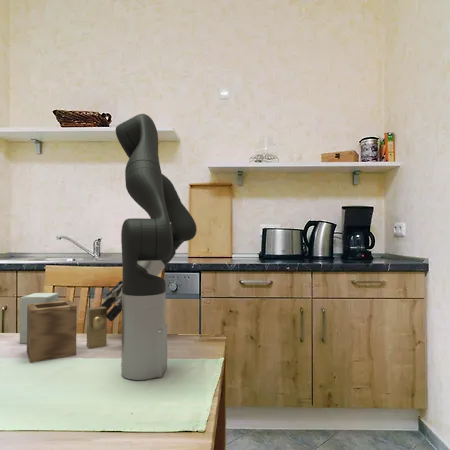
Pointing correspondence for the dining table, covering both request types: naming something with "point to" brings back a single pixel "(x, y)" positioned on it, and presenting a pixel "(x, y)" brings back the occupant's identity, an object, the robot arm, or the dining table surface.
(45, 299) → the supplement box
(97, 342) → the gold rectangular block
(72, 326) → the brown wooden bin
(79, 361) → the dining table surface
